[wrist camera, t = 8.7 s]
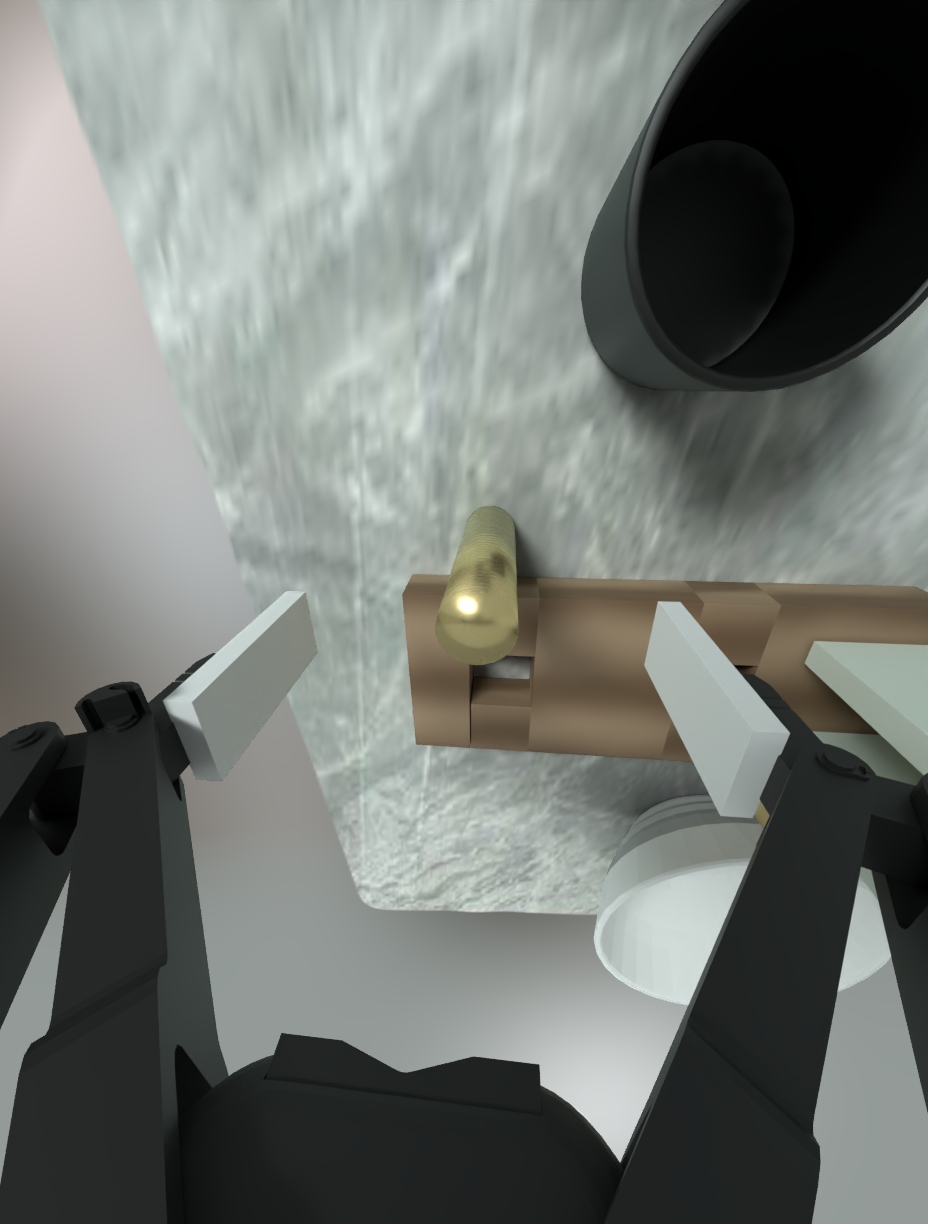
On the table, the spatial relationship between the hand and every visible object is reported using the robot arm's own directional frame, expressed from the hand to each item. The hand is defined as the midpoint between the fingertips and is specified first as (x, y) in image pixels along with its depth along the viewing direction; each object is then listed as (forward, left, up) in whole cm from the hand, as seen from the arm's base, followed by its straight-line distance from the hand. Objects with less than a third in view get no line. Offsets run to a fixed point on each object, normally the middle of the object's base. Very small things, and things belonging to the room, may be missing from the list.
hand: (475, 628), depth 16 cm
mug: (-12, +10, -11) cm, 20 cm away
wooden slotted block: (+9, +10, -11) cm, 17 cm away
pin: (0, 0, -11) cm, 11 cm away
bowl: (+27, +18, -11) cm, 34 cm away
